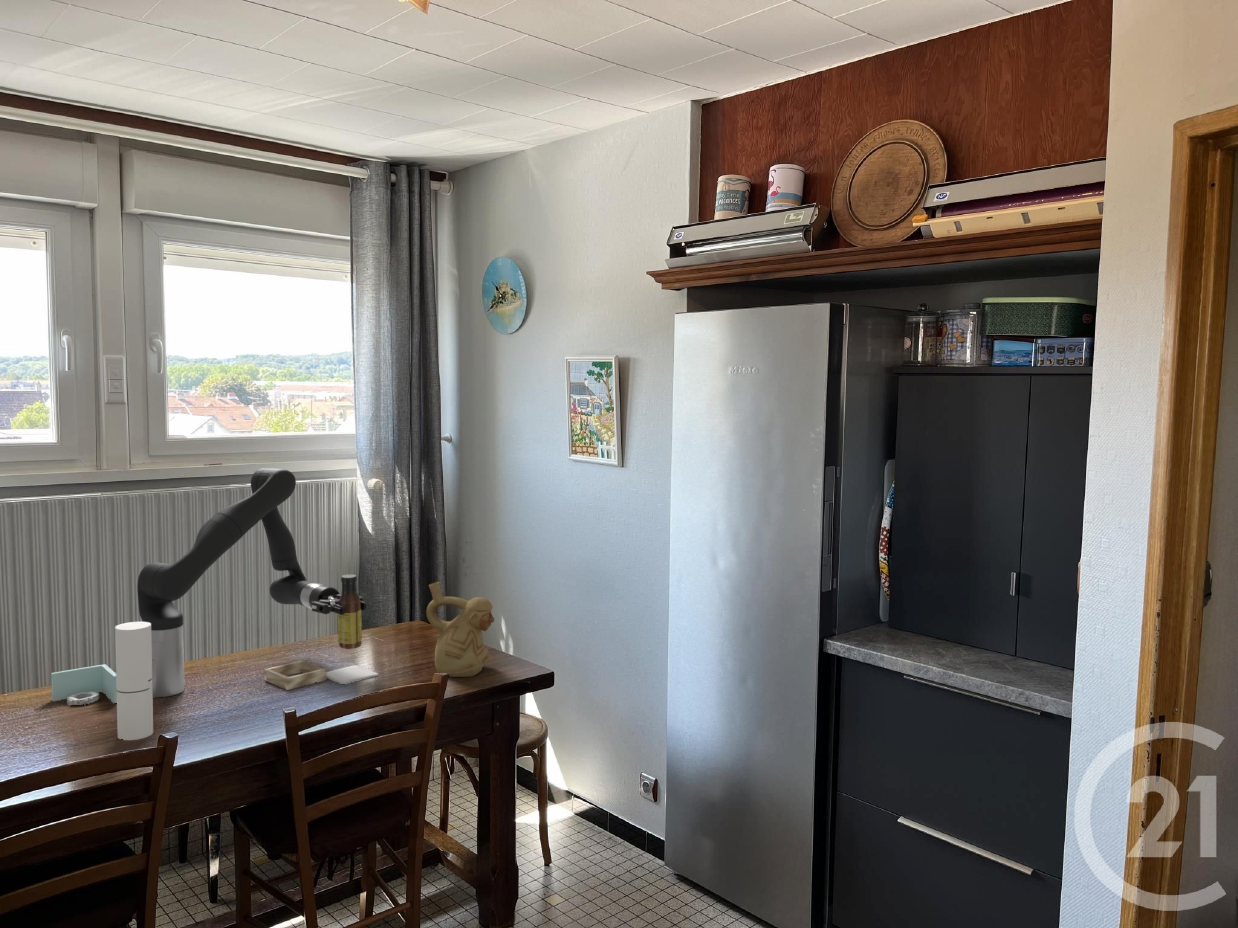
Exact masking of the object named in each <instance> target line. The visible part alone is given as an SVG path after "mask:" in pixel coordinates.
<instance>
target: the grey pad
mask: <svg viewBox="0 0 1238 928" xmlns="http://www.w3.org/2000/svg"><path fill="white" fill-rule="evenodd" d="M378 676H379V673H378V672H375V671H372V670H370V669H367V668H364V667H361V666H358V665H356V664H354V665H350V666H347V667H346V666H345V667H342V668H338V669H334V670H329V671H326V680H329V679H330V681H332V682H335V683H337V682H338V683H337V684H340V685H342V684H345V685H349V684H352V683H356V682H359V681H363V680H362V679H364V680H367V679H370V678H374V677H378ZM355 681H356V682H355ZM351 682H352V683H351Z"/></svg>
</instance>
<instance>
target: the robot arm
mask: <svg viewBox="0 0 1238 928" xmlns="http://www.w3.org/2000/svg"><path fill="white" fill-rule="evenodd" d="M296 483H297V481H296V477H295V475H294V474H293V472H292V471H290V470H288V469H284V468H275V467H273V468H272V467H262V468H259V469H257V470H256V471H254V473H253V474H252V476H251V478H250V488H251V489H250V490H251V493H252V494H251V495H249V496H247V497H246V498H242V499H241V500H239V501H238V500H237V501H236V502H233V503H232V504H230V505H228V506H225V507H224V508H222V509H221V510H219V511H218V512H216V513H215V514H214V515H213V516H212V517H210V518H209V519H208V520H207V521H206V522H204V524H203V525H202V526H201V527H200V529H199V531H198V532H197V534H196V538H195V541H194V544H193V546H192V547H191V549H190V550H189V551H188V552H187V553H186V554H184V556H182V557H181V558H180V559H179V560H177V561H176V562H174V563H172V564H170V563H164V562H151V563H148V564H147V565H145V566H144V567H143V568H142V569H141V571H140V572H139V574H138V578H137V583H136V584H137V586H136V587H137V588H136V589H137V602H138V604H137V605H138V613H139V614H138V615H139V616H140V618H141V619H140V620H141V622H149V623H151V644H152V694H153V699H154V698H162V697H163V698H165V697H171V696H175V695H178V694H180V693H183V692H184V691H185V653H184V652H185V651H184V647H185V645H184V615H183V613H182V612H181V611H180V610H178V608H177V607H176V606H175V605H174V603H173V602H174V601H177V600H179V599H181V598H183V597H184V595H185V594H186V593H188V591H190V589H192V587H193V586H194V585H195V584H196V583H197V581H199V580H200V578H201V577H202V576H203V575H204V573H205V572H206V571H207V570H208V569H209V568H210V567H211V566H213V564H214V563H215V562H217V560H219V558H221V557H222V556H223V555H224V554H225V553H226V552H227V551H228V550H229V549H231V548H232V547H233V546H234V545H235V544H236V543H237V542H238V541H240V539H242V538H243V537H244V536H245V534H247V532H248V531H250V530H251V529H252V528H254V526H255V525H256V524H258V523H259V522H260V521H261V522H262V525H263V528H264V531H265V534H266V539H267V545H268V549H269V553H270V554H269V555H270V559H271V566H272V568H273V570H274V571H277V572H280V571H281V572H282V571H283V572H285V571H286V572H288V574H289V575H287V576H283V577H280V578H276V579H274V580H273V582H271V584H270V585H269V594H270V597H271V599H273V601H275V602H276V603H279V604H280V605H281V604H282V605H300V606H303V607H306V608H307V609H310V610H311V612H315V613H319V614H324V615H328V614H336V615H338V614H340V615H344V614H345V607H344V606H341V605H338V603H339V601H340V597H341V593H340V592H339V590H338V589H336V588H335V587H332V586H329V585H325V584H322V583H318V582H317V583H316V582H313V581H308V580H307V579H306V576H305V574H304V572H303V570H302V568H301V566H300V564H299V561H298V557H297V551H296V545H295V541H294V538H293V535H292V532H291V531H290V529H289V528H288V526H287V525H286V523H285V521H284V518H283V517H282V515H281V513H280V510H279V508H278V507H279V506H280V505H281V504H282V503H284V502H286V501H287V500H288V499H289V498H290V497H291V496H292V494H293V493H294V491H295V490H296V486H297V485H296ZM359 598H360V600H361V611H362V612H363V611H366V610H367V602H366V601H364V599H365V598H364V597H363V596H361V595H359Z"/></svg>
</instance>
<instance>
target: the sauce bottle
mask: <svg viewBox="0 0 1238 928" xmlns="http://www.w3.org/2000/svg"><path fill="white" fill-rule="evenodd" d="M340 580H341V593H340V594H341V597H340V601H339V603H338V605H341V606H344V607H345V614H344V615H340V614H337V640H338V646H339V647H340V648H341V649H345V650H352V649H357V648H359V647H361V646H362V640H363V627H362V626H363V625H362V623H363V622H362V610H361V600H360V598H359V596H360V595H359V594H358V593H357V580H358V578H357V575H356V574H354V573H353V574H351V573H350V574H348V573H347V574H343V575H341V576H340Z"/></svg>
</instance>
